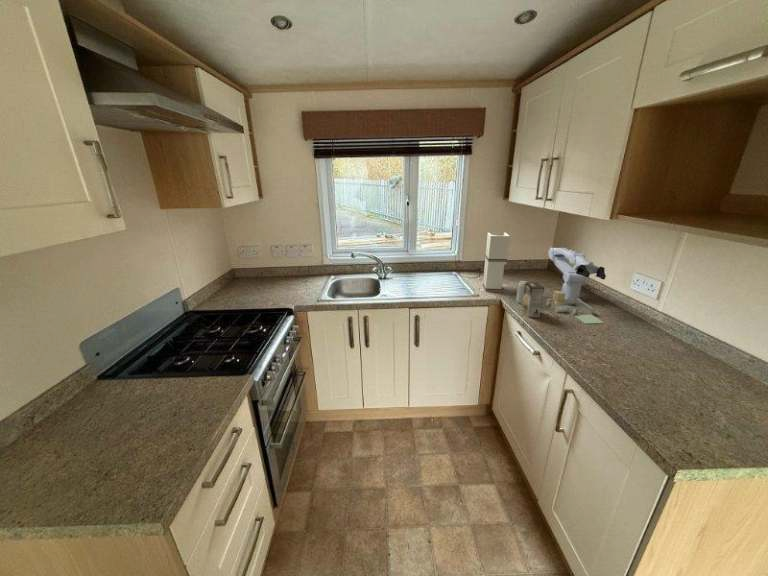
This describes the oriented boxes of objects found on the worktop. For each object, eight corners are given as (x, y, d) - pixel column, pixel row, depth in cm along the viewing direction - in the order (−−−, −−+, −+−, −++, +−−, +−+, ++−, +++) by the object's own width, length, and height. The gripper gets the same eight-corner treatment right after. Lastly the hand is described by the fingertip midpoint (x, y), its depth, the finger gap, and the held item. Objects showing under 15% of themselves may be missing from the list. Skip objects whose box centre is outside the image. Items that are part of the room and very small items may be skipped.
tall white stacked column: (503, 292, 188) (509, 235, 176) (485, 291, 190) (490, 235, 178) (499, 286, 199) (505, 232, 187) (482, 285, 200) (487, 232, 189)
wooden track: (546, 304, 169) (547, 298, 168) (575, 303, 169) (576, 298, 168) (560, 315, 155) (562, 309, 154) (592, 315, 155) (594, 308, 154)
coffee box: (520, 309, 163) (524, 281, 158) (533, 309, 163) (537, 281, 157) (527, 317, 154) (531, 287, 149) (540, 317, 154) (545, 287, 149)
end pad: (574, 315, 155) (574, 315, 154) (591, 315, 154) (592, 314, 154) (585, 323, 146) (585, 323, 146) (603, 323, 146) (604, 322, 146)
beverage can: (529, 304, 169) (532, 284, 165) (517, 304, 170) (519, 284, 166) (526, 300, 175) (529, 280, 171) (514, 299, 176) (517, 280, 172)
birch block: (551, 306, 166) (554, 291, 163) (558, 306, 166) (561, 291, 163) (555, 309, 162) (557, 294, 159) (562, 309, 162) (565, 293, 159)
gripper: (573, 256, 161) (584, 267, 149) (601, 260, 160) (615, 271, 148) (568, 268, 164) (578, 280, 152) (595, 272, 163) (608, 284, 152)
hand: (596, 276), depth 150 cm, fingers open, 7 cm apart
